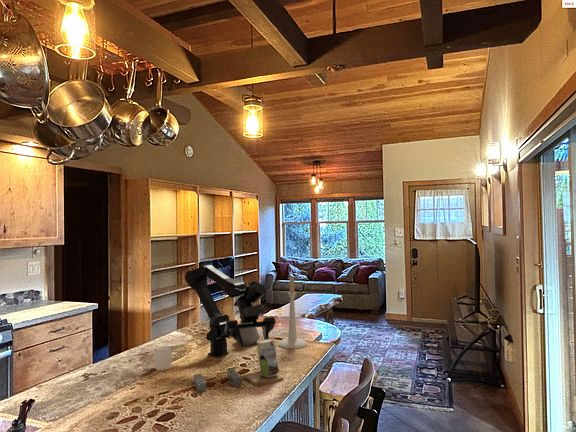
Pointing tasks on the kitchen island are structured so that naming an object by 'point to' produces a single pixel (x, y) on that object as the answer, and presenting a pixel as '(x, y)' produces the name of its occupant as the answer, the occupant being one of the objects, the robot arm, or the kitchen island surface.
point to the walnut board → (261, 378)
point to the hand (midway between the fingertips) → (255, 345)
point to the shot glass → (162, 357)
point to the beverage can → (267, 358)
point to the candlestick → (292, 325)
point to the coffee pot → (249, 335)
